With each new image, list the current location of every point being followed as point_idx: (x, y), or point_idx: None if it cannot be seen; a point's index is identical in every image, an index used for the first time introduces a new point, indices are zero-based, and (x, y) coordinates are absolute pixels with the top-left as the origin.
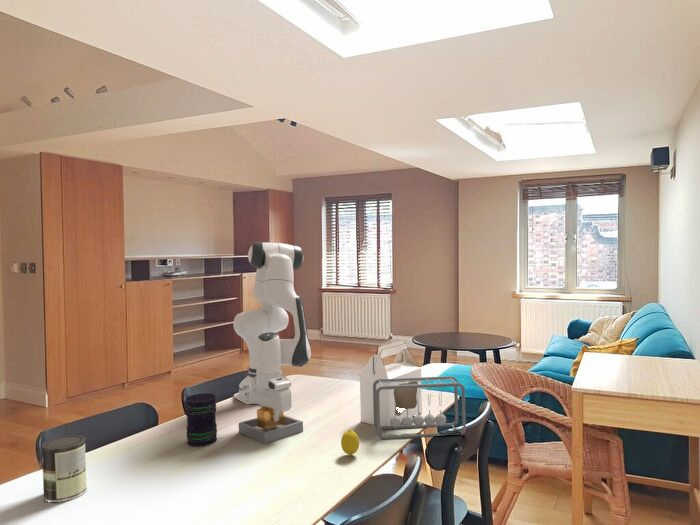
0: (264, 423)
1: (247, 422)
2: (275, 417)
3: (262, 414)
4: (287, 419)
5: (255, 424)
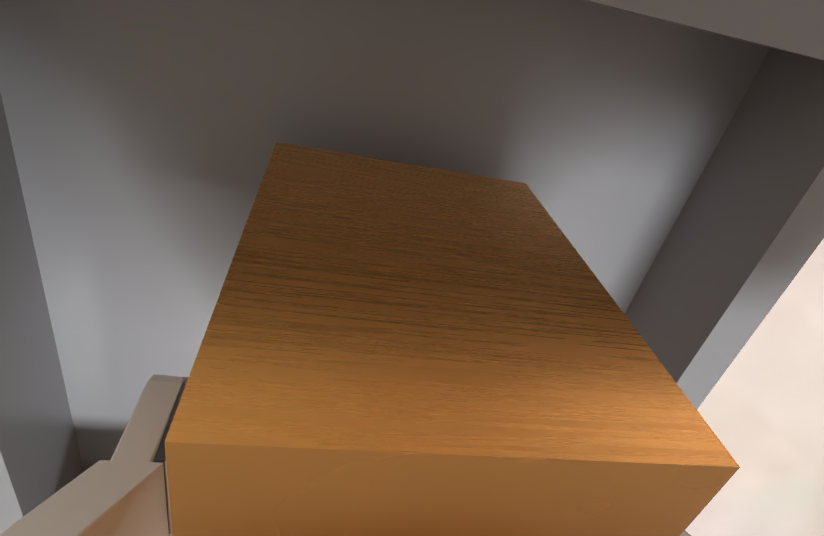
0: (266, 193)
1: (788, 183)
2: (126, 458)
3: (343, 347)
4: None
5: (659, 282)
